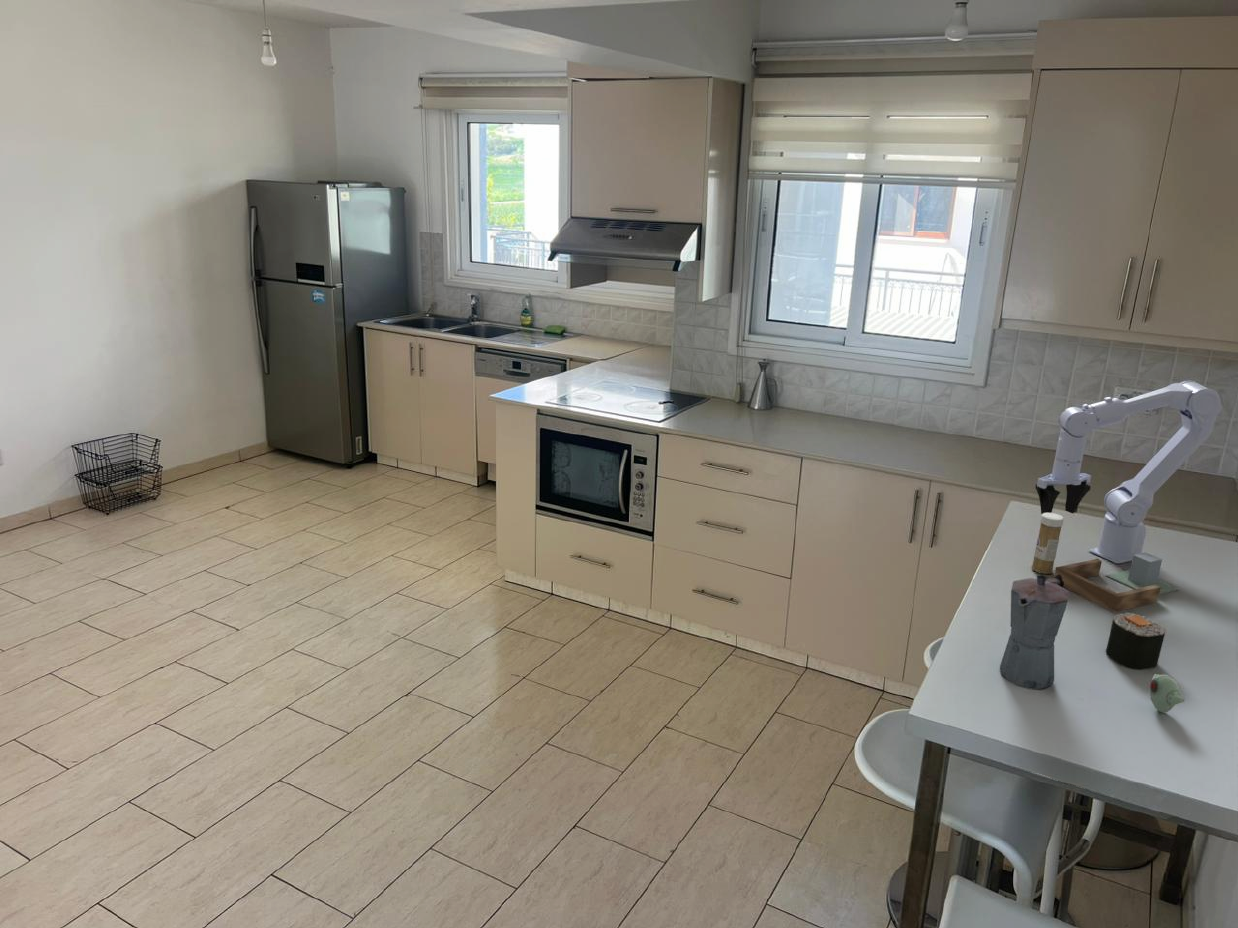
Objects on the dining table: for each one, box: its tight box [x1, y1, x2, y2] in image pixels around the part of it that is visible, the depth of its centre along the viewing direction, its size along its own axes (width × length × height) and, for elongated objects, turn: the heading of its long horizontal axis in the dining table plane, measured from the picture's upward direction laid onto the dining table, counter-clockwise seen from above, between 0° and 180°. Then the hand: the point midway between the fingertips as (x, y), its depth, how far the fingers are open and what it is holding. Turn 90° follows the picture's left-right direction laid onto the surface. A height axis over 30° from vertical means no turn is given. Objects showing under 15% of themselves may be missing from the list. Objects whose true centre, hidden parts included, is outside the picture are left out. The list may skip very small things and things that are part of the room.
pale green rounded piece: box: [1149, 673, 1186, 714], centre depth 151 cm, size 8×4×7 cm, turn 175°
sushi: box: [1105, 612, 1167, 670], centre depth 168 cm, size 8×8×8 cm
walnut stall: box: [1053, 558, 1161, 613], centre depth 196 cm, size 13×15×4 cm
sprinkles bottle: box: [1031, 512, 1065, 575], centre depth 204 cm, size 5×5×14 cm
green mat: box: [1105, 569, 1179, 595], centre depth 202 cm, size 9×11×1 cm
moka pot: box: [999, 574, 1070, 690], centre depth 159 cm, size 10×15×20 cm, turn 135°
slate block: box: [1128, 552, 1163, 587], centre depth 201 cm, size 4×4×6 cm
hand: (1057, 513), depth 215 cm, fingers open, 7 cm apart
